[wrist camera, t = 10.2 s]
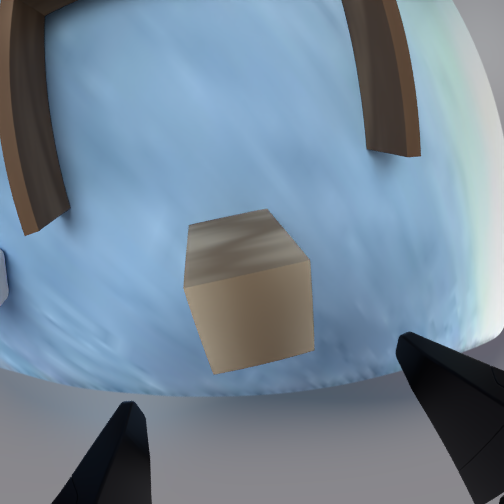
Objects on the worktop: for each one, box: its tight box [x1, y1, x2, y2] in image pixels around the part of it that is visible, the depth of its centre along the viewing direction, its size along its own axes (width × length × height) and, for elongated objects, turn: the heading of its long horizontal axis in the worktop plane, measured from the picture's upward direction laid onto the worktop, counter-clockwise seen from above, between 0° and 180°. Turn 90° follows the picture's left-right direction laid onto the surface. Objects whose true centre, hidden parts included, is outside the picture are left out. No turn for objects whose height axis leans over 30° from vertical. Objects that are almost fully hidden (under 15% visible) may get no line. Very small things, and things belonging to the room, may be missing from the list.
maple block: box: [184, 209, 314, 374], centre depth 14 cm, size 4×4×7 cm
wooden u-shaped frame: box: [0, 0, 421, 236], centre depth 10 cm, size 20×14×4 cm
